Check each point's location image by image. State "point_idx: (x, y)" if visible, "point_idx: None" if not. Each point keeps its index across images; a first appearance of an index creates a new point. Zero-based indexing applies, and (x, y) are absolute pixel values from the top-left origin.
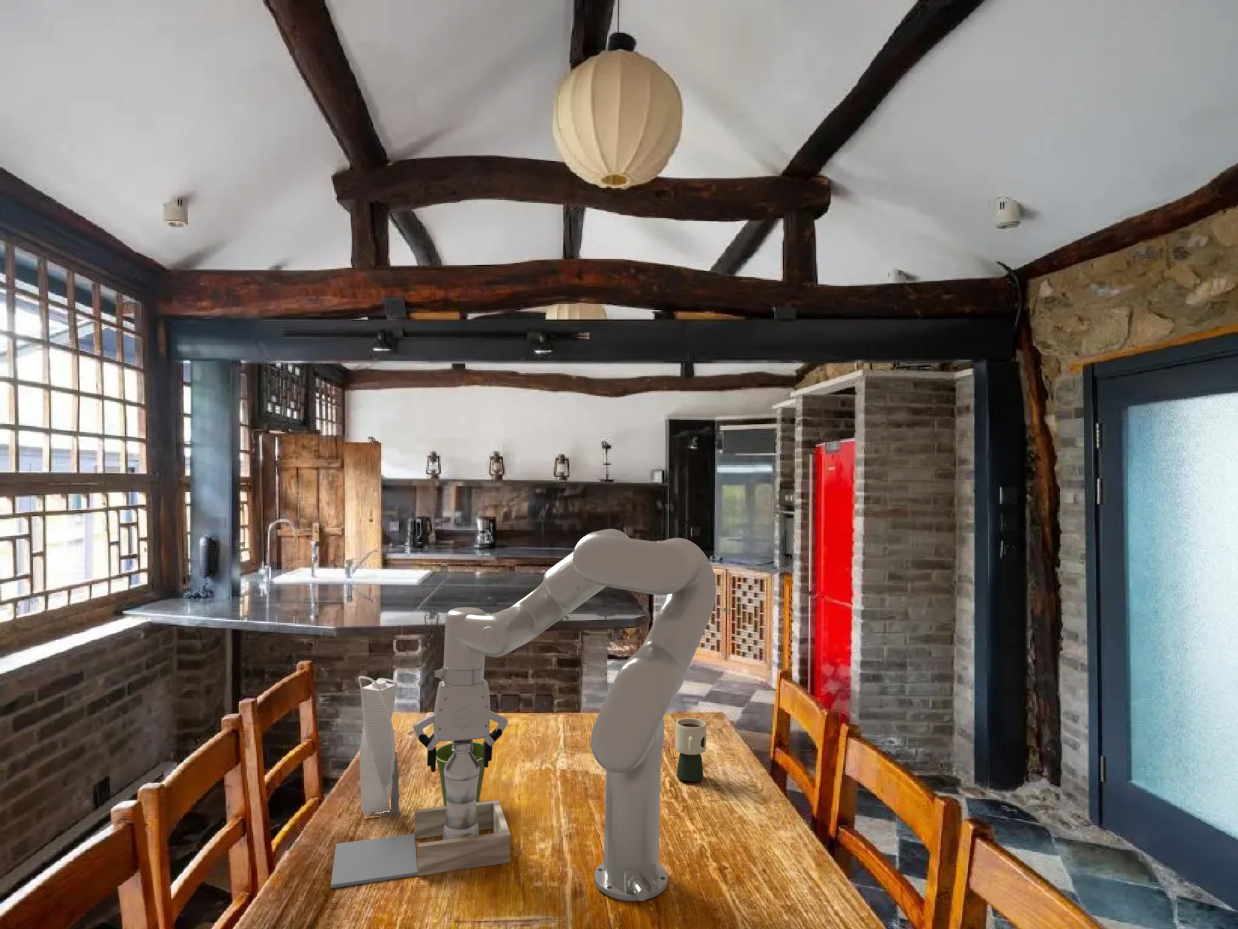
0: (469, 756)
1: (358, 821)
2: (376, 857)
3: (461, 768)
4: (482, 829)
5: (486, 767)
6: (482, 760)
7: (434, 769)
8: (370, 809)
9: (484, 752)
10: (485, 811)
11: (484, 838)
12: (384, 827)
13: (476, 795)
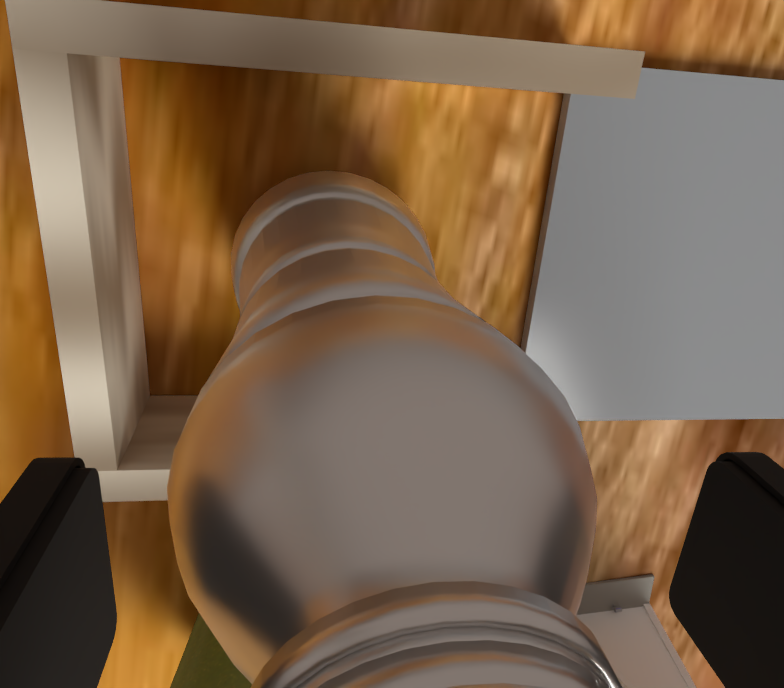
0: (319, 571)
1: (671, 569)
2: (703, 266)
3: (448, 385)
4: None
5: (66, 461)
6: (114, 634)
7: (748, 465)
8: (630, 623)
9: (26, 666)
10: (173, 444)
11: (212, 11)
12: (599, 511)
13: (206, 626)
